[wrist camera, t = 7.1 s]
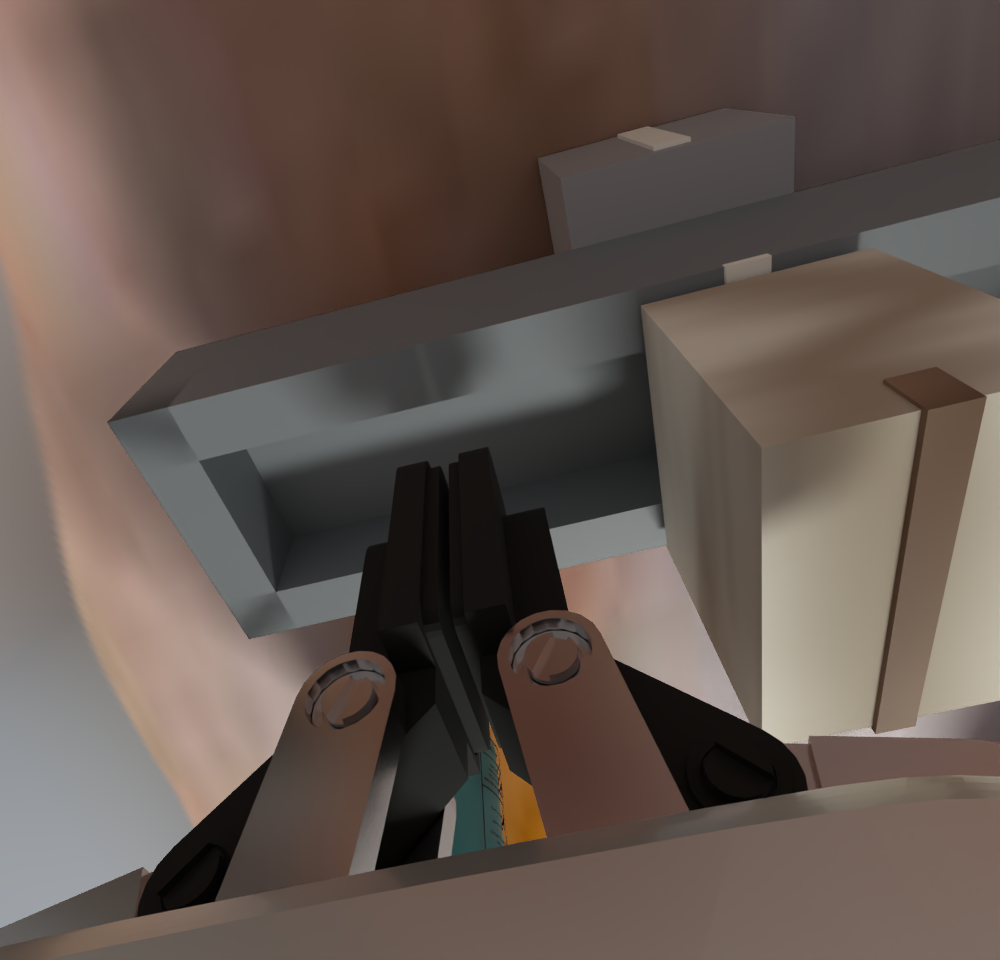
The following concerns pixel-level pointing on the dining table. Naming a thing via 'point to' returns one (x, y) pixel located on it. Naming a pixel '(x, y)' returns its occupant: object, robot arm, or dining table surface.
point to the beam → (515, 359)
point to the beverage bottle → (479, 809)
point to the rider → (836, 487)
